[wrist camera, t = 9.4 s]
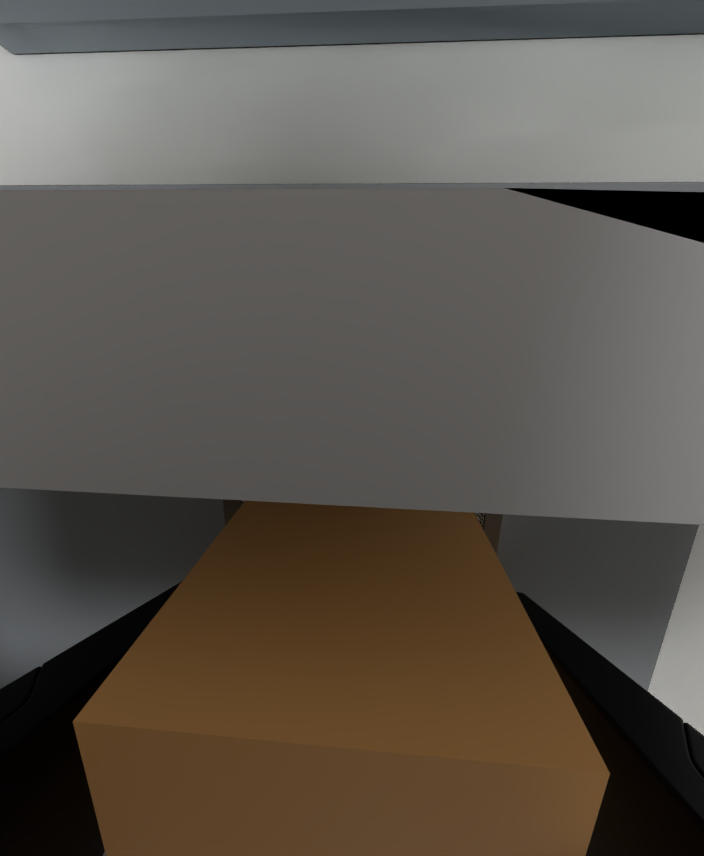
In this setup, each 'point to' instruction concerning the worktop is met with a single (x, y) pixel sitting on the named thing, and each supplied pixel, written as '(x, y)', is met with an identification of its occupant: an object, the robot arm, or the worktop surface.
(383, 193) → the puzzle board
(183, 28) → the slate tray
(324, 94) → the worktop surface
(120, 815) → the orange block
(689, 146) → the worktop surface
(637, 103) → the worktop surface
